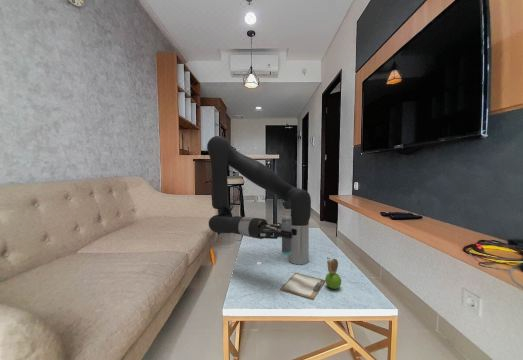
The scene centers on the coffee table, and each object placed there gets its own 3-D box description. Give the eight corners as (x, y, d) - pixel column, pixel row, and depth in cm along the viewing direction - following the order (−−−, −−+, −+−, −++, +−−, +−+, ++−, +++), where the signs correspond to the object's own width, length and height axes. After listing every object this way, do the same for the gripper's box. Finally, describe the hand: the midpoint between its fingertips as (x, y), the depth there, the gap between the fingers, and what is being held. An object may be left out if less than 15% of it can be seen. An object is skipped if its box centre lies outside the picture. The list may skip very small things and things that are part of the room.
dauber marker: (284, 250, 82) (284, 215, 82) (293, 252, 80) (293, 216, 80) (280, 253, 79) (280, 216, 79) (289, 255, 78) (288, 217, 77)
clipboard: (295, 273, 91) (295, 270, 91) (325, 281, 85) (325, 278, 85) (279, 290, 79) (279, 286, 79) (313, 300, 73) (313, 296, 73)
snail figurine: (320, 289, 80) (321, 255, 79) (330, 282, 84) (330, 250, 84) (335, 295, 76) (335, 260, 75) (343, 287, 80) (344, 254, 80)
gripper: (241, 221, 81) (285, 227, 72) (262, 214, 93) (302, 219, 84) (242, 242, 81) (285, 251, 72) (262, 232, 93) (302, 239, 84)
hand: (294, 233), depth 78 cm, fingers closed on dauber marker, 3 cm apart
